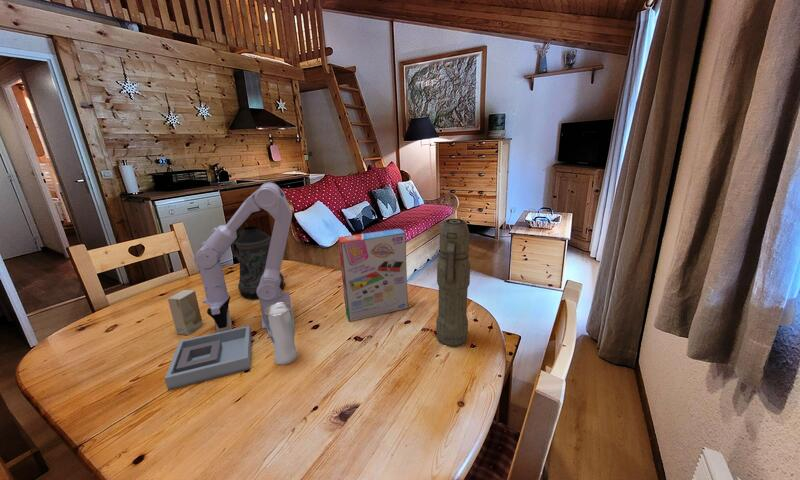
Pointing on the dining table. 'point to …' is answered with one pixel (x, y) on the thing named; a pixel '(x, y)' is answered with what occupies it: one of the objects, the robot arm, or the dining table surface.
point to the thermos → (453, 283)
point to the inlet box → (210, 357)
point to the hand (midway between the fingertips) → (223, 323)
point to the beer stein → (252, 259)
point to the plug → (227, 323)
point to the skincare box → (185, 312)
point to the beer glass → (281, 332)
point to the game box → (374, 273)
